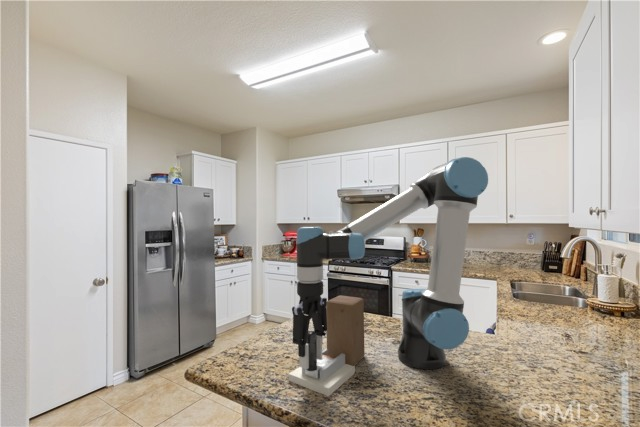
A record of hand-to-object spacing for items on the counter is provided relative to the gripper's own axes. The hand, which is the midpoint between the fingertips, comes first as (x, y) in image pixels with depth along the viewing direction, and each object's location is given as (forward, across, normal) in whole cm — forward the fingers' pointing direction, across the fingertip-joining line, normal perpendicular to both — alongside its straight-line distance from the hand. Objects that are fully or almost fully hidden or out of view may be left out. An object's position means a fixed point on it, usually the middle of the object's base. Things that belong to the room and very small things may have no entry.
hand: (311, 362), depth 84 cm
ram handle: (+4, -4, 0) cm, 6 cm away
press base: (+6, -6, 0) cm, 8 cm away
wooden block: (+7, -20, 0) cm, 21 cm away
